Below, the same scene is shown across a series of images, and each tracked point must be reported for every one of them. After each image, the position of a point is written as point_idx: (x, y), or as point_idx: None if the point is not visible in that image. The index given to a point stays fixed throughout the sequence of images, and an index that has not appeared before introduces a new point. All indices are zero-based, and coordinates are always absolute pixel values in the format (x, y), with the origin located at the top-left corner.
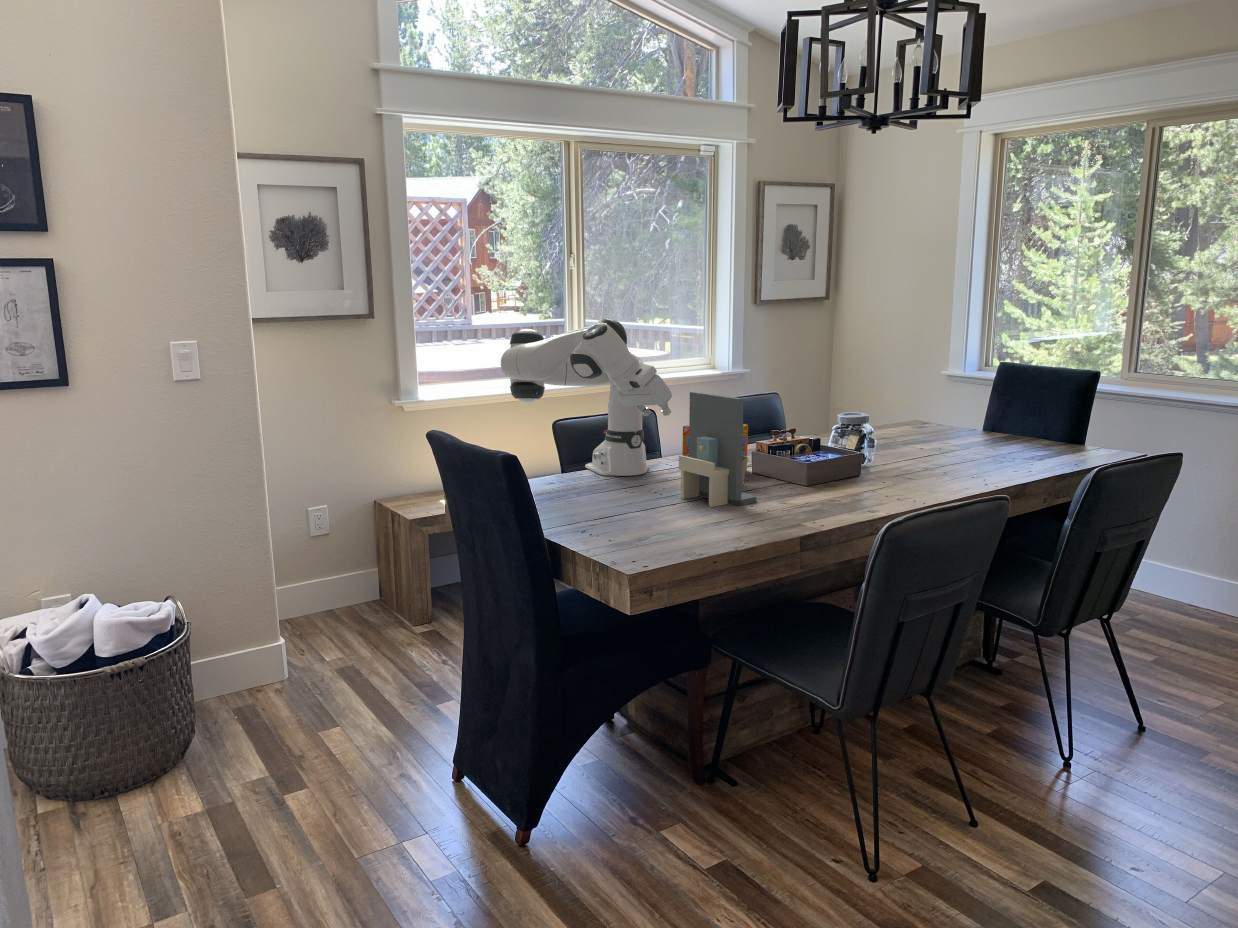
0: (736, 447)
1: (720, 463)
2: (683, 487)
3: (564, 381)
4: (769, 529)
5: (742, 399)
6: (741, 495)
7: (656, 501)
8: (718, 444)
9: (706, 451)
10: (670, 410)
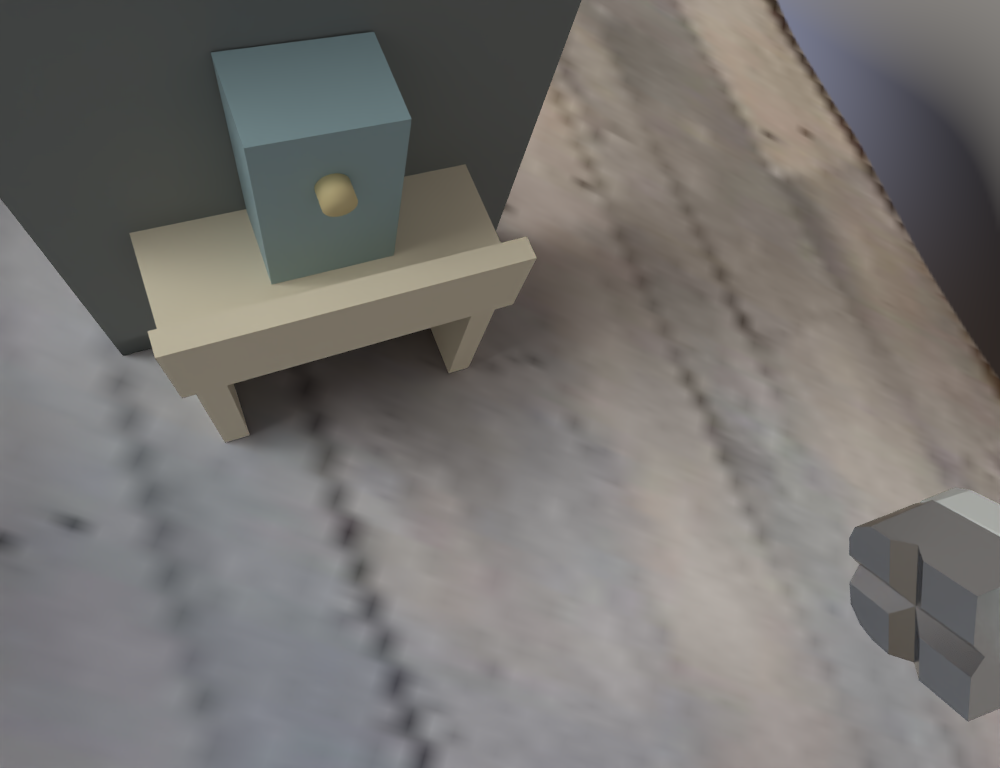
0: (562, 36)
1: None
2: (240, 415)
3: None
4: (840, 307)
5: None
6: None
7: (241, 608)
8: None
9: (378, 191)
10: (982, 500)
